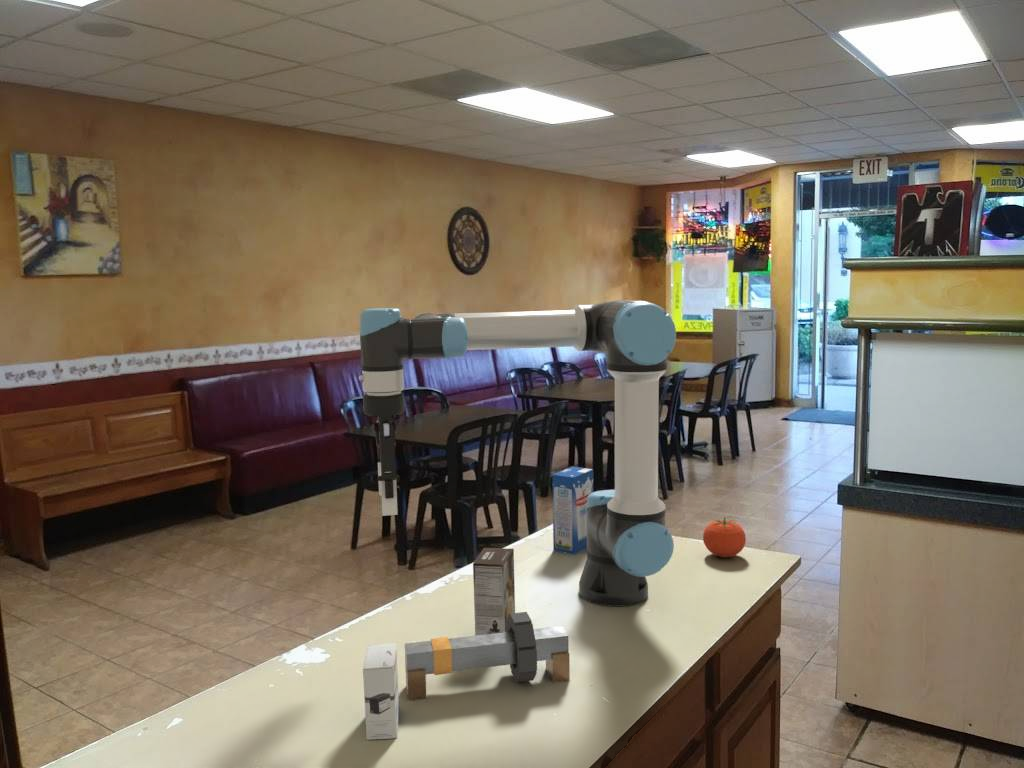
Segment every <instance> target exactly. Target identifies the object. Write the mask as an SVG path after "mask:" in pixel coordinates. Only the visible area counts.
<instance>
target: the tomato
mask: <svg viewBox="0 0 1024 768" xmlns="http://www.w3.org/2000/svg"><path fill="white" fill-rule="evenodd" d="M702 535H703V536H702V539H703V540H702V541H703V544H704V546H705V547H706V549H707V550H708V551H709V552H710V553H711V554H713V555H715V556H716V557H720V558H731V557H734V556H736V555H738V554H739V553H741V552H742V550H743V549H744V547H745V545H746V542H747V541H746V537H747V536H746V534H745V531H744V529H743V528H742V526H741V525H740V524H738V523H737V522H736V521H735V520H732V519H730V520H729V519H726V517H724V518H723V519H714V520H713V521H712V522H709V524H707V526H706V527H705V528H704V531H703V534H702Z"/></svg>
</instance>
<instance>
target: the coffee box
mask: <svg viewBox="0 0 1024 768" xmlns="http://www.w3.org/2000/svg"><path fill="white" fill-rule="evenodd" d="M514 550H515V549H514V548H501V547H483V549H482V550H481V551H480V553H479V554H478V556H477V557H476V559H475V560H474V562H473V563H472V571H473V576H472V577H473V578H472V579H473V600H474V601H473V605H474V608H473V609H474V634H475V635H474V636H477V635H486V634H495V633H504V632H507V631H506V624H507V619H508V616H509V614H510V613H516V597H515V595H516V593H515V592H516V591H515V586H516V585H515V556H514V552H515V551H514Z"/></svg>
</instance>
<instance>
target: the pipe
mask: <svg viewBox="0 0 1024 768" xmlns="http://www.w3.org/2000/svg"><path fill="white" fill-rule="evenodd" d="M533 629H534V635H535V641H536V649H537V662H542V661H545V670H546V673H548V676H549V678H550V679H551V682H552V683H558V682H559V683H560V682H567V681H568V682H569V681H570V680H571V679H570V676H571V675H570V669H571V667H570V652H569V647H570V646H569V645H570V643H569V634H568V632H567V631H566V629H565V627H564V626H563V625H560V626H559V625H558V626H551V627H549V626H548V627H541V628H533ZM404 661H405V662H404V663H405V686H406V693H407V698H408V699H407V700H408V701H416V700H424V699H427V675H433V674H434V676H439V675H449V674H453V672H457V671H458V672H459V671H466V670H475V669H476V670H477V669H482V668H484V669H485V668H492V667H499V666H500V667H501V666H510V664H517V647H516V641H515V635H514V631H513V632H504V633H495V634H486V635H477V636H475V635H470V636H469V635H468V636H462V637H461V636H460V637H452V638H449V637H448V636H446V637H437V638H430V640H425V641H415V642H406V643H404Z"/></svg>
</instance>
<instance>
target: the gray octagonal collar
mask: <svg viewBox="0 0 1024 768" xmlns="http://www.w3.org/2000/svg"><path fill="white" fill-rule="evenodd" d="M534 629H535V628H534V625H533V623H532V619H531V617H530V615H529V613H528V612H527V611H523V612H521V611H520V612H515V613H510V614H509V616H508V619H507V624H506V631H507V632H513V631H514V635H515V641H516V647H517V664H510V665H509V668H510V672H511V674H512V677H513V679H514V682H515V683H522V682H523V683H524V682H530V681H531V682H532V681H534V679H535V678H536V675H537V673H538V672H537V671H538V661H537V649H536V641H535V635H534Z"/></svg>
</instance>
